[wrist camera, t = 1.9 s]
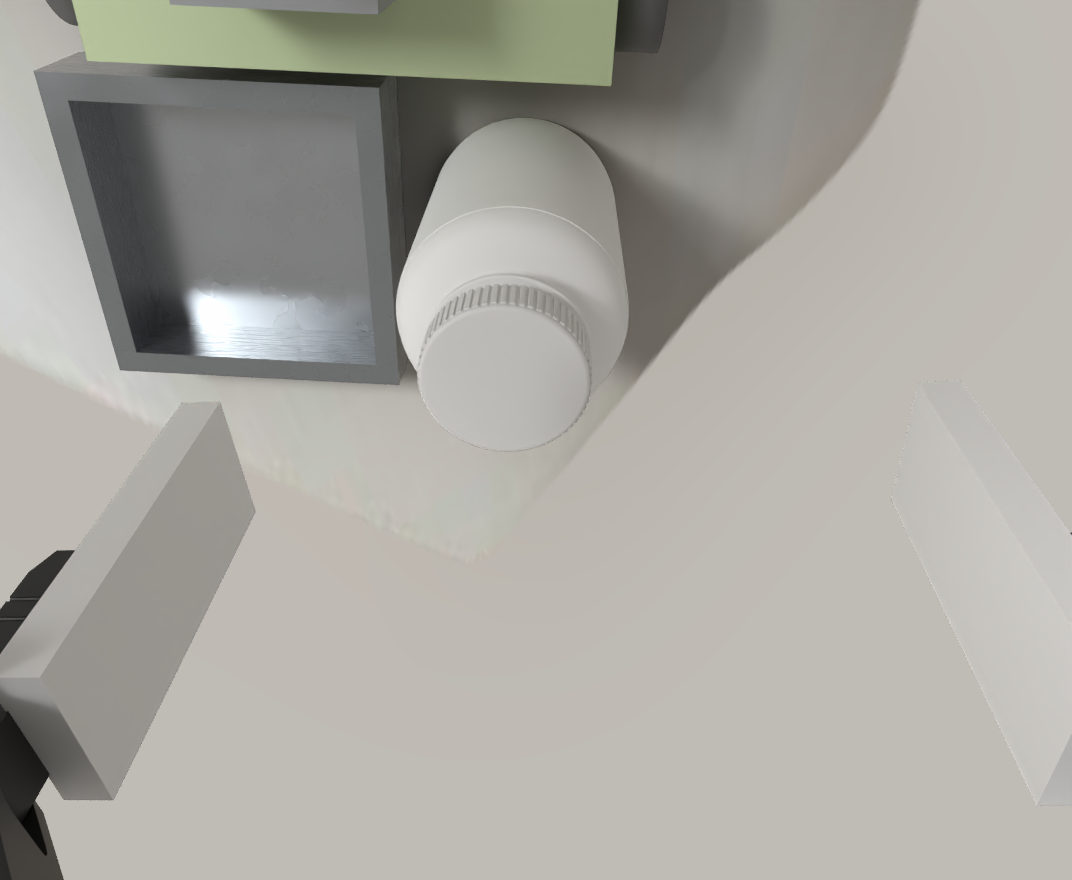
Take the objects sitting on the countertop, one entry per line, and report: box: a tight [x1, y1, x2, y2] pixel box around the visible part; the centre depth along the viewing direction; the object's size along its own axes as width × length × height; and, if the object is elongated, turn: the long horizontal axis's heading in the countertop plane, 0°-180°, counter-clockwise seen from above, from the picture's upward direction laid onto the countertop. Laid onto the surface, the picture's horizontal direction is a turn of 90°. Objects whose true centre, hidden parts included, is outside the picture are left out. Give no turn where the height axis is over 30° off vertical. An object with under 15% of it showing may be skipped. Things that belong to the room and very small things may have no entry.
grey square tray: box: [34, 52, 408, 385], centre depth 37 cm, size 13×13×4 cm
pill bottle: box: [396, 118, 629, 452], centre depth 31 cm, size 8×8×15 cm
